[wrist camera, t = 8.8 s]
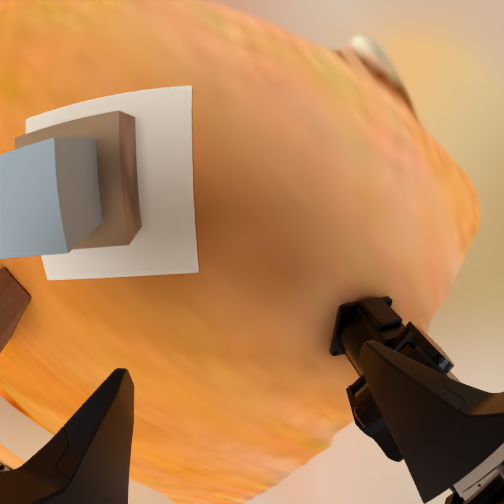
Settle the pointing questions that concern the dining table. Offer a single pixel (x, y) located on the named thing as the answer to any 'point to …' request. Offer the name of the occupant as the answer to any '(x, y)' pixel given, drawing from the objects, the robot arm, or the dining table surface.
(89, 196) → the gray cube
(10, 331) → the wooden block
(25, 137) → the walnut base
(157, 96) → the felt mat
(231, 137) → the dining table surface
